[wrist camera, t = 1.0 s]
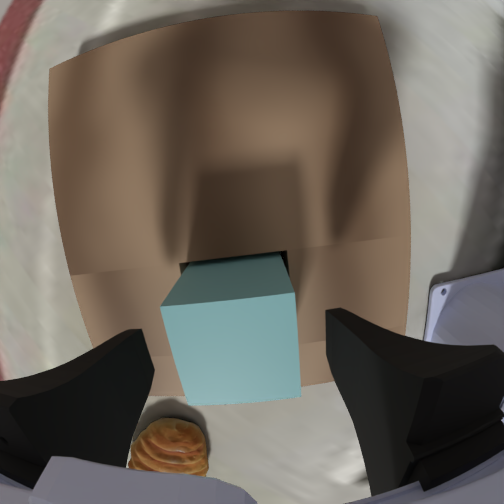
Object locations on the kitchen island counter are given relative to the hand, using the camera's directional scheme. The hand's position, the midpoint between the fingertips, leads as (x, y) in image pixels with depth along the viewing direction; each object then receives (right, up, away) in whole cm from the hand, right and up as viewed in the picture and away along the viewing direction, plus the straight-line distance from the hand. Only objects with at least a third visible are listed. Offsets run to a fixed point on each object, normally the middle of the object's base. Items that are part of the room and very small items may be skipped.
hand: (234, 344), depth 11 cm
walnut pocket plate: (0, +6, +5) cm, 8 cm away
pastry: (-6, -13, +10) cm, 18 cm away
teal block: (0, +1, +6) cm, 6 cm away
